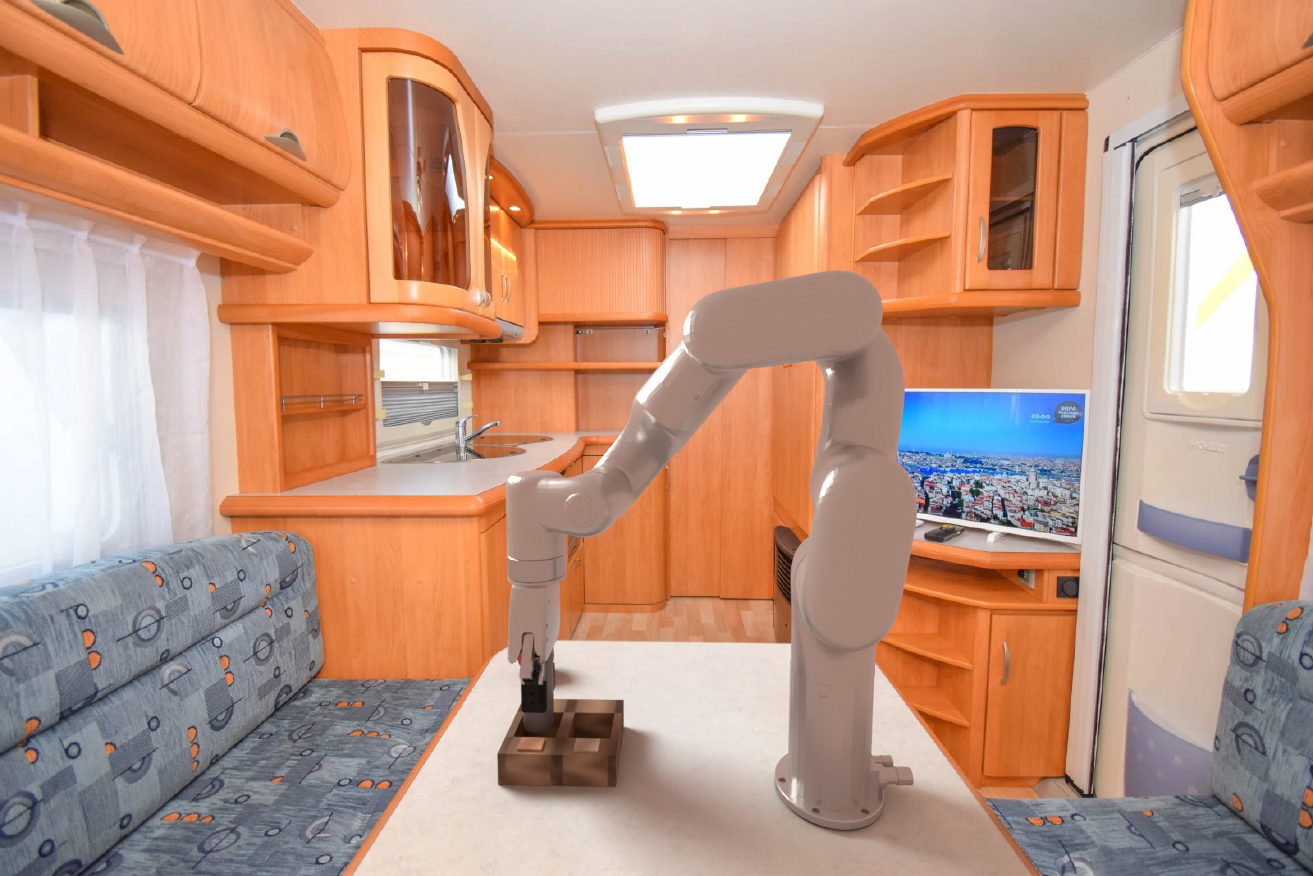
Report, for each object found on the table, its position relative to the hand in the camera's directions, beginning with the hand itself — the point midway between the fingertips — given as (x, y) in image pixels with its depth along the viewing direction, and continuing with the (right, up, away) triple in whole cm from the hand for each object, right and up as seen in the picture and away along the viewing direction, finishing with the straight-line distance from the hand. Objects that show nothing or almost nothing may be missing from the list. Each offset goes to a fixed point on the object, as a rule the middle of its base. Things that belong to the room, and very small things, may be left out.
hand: (538, 699), depth 72 cm
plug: (0, -3, 0) cm, 3 cm away
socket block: (+4, -7, +1) cm, 8 cm away
